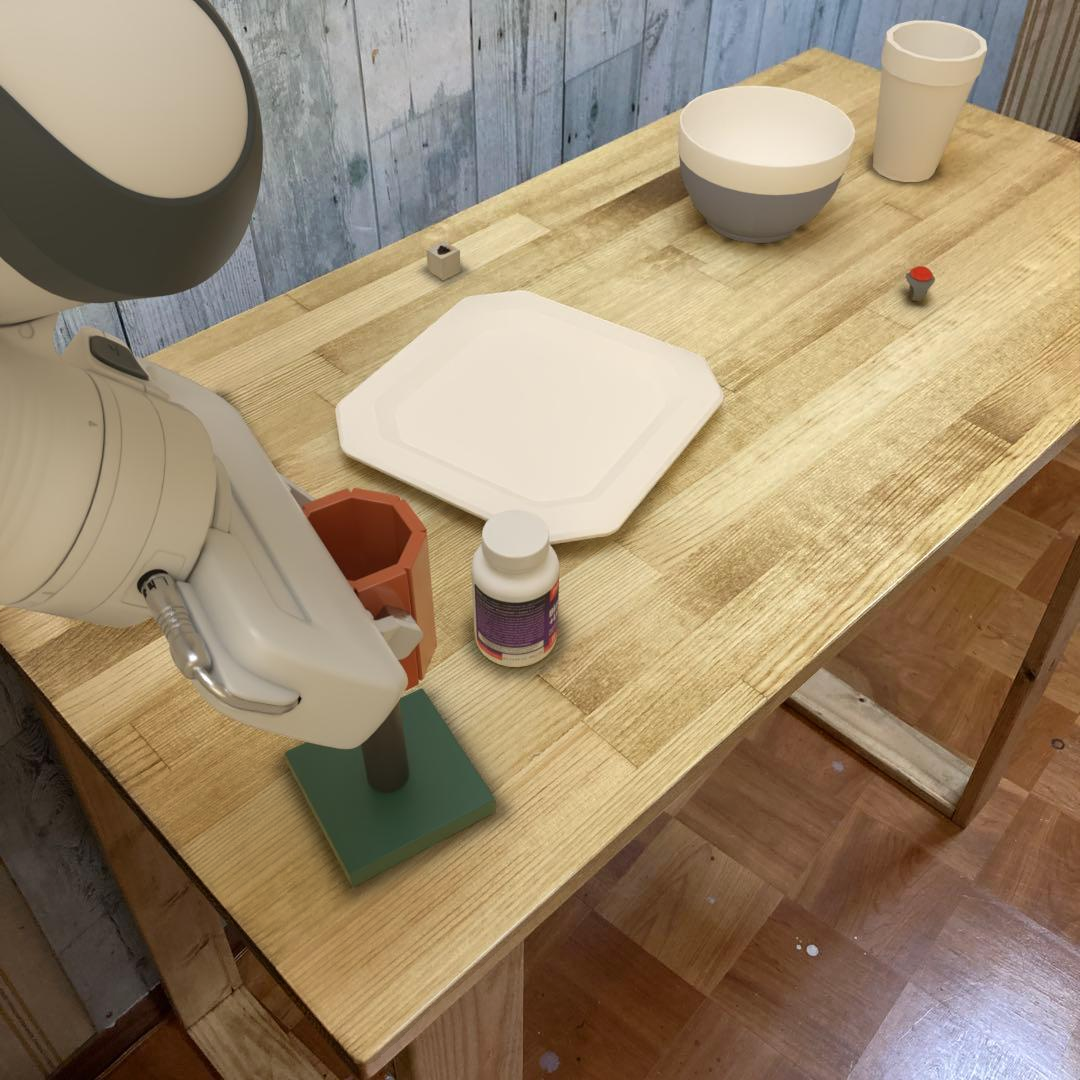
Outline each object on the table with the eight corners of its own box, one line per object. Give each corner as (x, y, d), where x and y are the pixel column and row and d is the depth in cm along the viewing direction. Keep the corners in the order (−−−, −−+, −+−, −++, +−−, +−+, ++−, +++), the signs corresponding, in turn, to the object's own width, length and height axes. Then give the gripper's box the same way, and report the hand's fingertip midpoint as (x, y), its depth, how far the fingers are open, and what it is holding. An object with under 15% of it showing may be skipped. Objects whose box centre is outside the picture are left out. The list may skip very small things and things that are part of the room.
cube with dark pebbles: (461, 271, 103) (459, 247, 101) (443, 280, 102) (441, 256, 100) (445, 261, 104) (444, 237, 102) (427, 271, 103) (425, 246, 101)
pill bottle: (567, 660, 72) (572, 556, 65) (485, 677, 71) (481, 574, 64) (544, 598, 76) (547, 493, 69) (466, 613, 75) (460, 509, 68)
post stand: (352, 888, 61) (329, 790, 54) (287, 765, 67) (259, 662, 59) (496, 812, 65) (492, 710, 57) (423, 701, 70) (412, 595, 63)
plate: (586, 584, 77) (587, 562, 75) (305, 451, 86) (301, 429, 84) (743, 391, 91) (747, 369, 90) (489, 295, 100) (488, 273, 99)
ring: (926, 290, 101) (935, 262, 99) (930, 307, 100) (939, 278, 98) (898, 289, 102) (906, 260, 99) (901, 305, 100) (910, 276, 98)
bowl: (721, 278, 102) (735, 181, 96) (640, 195, 112) (648, 102, 106) (867, 241, 107) (891, 146, 100) (777, 165, 117) (793, 73, 110)
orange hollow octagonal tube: (337, 722, 53) (315, 610, 47) (287, 633, 56) (260, 519, 51) (455, 668, 55) (447, 555, 49) (399, 586, 59) (386, 472, 53)
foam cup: (838, 163, 117) (865, 36, 108) (894, 136, 122) (925, 12, 112) (912, 199, 112) (948, 70, 103) (968, 170, 117) (1007, 43, 107)
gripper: (253, 627, 35) (526, 688, 46) (77, 302, 47) (324, 410, 58) (146, 769, 37) (434, 796, 47) (3, 420, 49) (256, 503, 59)
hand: (372, 581), depth 53 cm, fingers closed on orange hollow octagonal tube, 6 cm apart
